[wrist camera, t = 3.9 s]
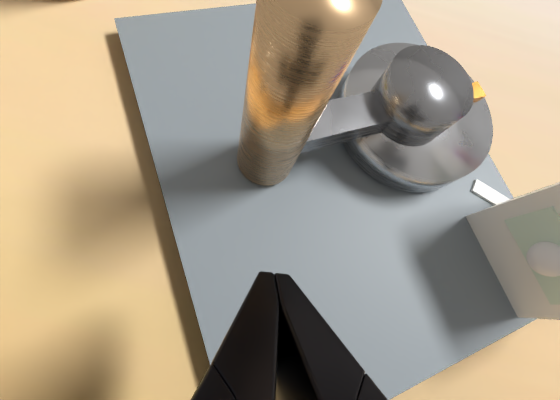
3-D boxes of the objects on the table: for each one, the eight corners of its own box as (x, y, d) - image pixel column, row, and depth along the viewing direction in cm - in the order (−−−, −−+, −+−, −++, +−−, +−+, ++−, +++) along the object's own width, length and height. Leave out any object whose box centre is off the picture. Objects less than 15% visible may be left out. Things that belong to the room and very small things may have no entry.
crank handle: (266, 247, 15) (342, 161, 6) (213, 95, 17) (207, -148, 8) (492, 171, 19) (749, 49, 10) (427, 56, 21) (589, -134, 12)
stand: (240, 467, 13) (261, 629, 7) (119, 32, 19) (66, -110, 12) (553, 299, 19) (733, 299, 12) (388, 0, 24) (450, -110, 18)
